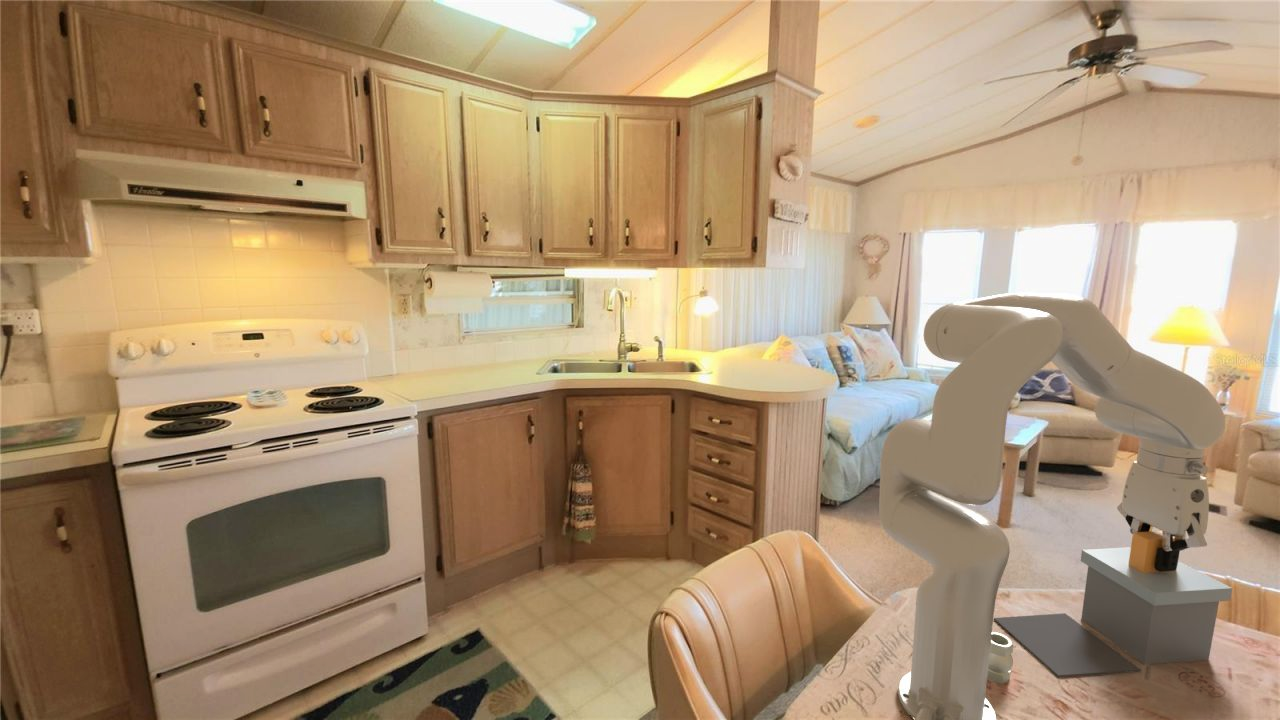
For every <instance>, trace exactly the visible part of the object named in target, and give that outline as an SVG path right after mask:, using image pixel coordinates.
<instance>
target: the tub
mask: <svg viewBox="0 0 1280 720" xmlns="http://www.w3.org/2000/svg"><path fill="white" fill-rule="evenodd" d="M1087 566H1088V565H1087ZM1082 602H1083V604H1082V612H1081V620H1082V621H1083V622H1085V623H1086V624H1087V625H1089V626H1090V627H1092V629H1095V631H1096V632H1098V633H1100V634H1101V635H1102V634H1103V636H1104V637H1105V638H1106V639H1108V640H1109V641H1111V642H1112V643H1113V644H1115V645H1117V646H1118V647H1119V648H1120V649H1122V650H1123V651H1124V652H1126V653H1127V654H1128V655H1130V656H1131V657H1132V658H1134V659H1136V660H1137V661H1138V662H1140V663H1141V664H1142V665H1143V666H1146V665H1158V664H1170V663H1185V662H1198V661H1199V662H1200V661H1209V660H1210V653H1211V650H1212V649H1211V648H1212V643H1213V637H1214V633H1215V631H1214V630H1215V627H1216V626H1215V625H1216V621H1217V616H1218V615H1217V614H1218V610H1219V603H1220V601H1217V602H1202V603H1186V604H1171V605H1156V606H1154V605H1152V604H1151V603H1149V602H1147V601H1146V600H1144V599H1143V598H1141V597H1139V596H1138V595H1136V594H1134V593H1133V592H1131V591H1129V590H1128V589H1126V588H1124V587H1123V586H1121V585H1119V584H1118V583H1116V582H1114V581H1113V580H1111V579H1109V578H1108V577H1106V576H1105V575H1103V574H1101V573H1100V572H1098V571H1096V570H1095V569H1093V568H1091V567H1090V566H1088V567H1087V573H1086V582H1085V589H1084V597H1083V601H1082Z"/></svg>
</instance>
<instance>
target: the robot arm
mask: <svg viewBox="0 0 1280 720" xmlns="http://www.w3.org/2000/svg"><path fill="white" fill-rule="evenodd" d="M923 340H924V343H925V345H926V347H927V349H928V351H929V352H930V353H931V354H932V355H934V356H935V357H936V358H938V359H940V360H944V361H946V362H947V361H948V362H952V363H953V362H954V363H959V365H957V366H956V367H955V368H954V369H953V370H951V371H950V373H949V374H948V375H947V376H946V377H945V378H944V379H943V380H942V382H941V383H940V384H939V386H938V388H937V390H936V392H935V395H934V399H933V405H932V413H931V414H932V415H931V420H927V419H923V418H921V419H920V418H908V419H904V420H901V421H900V422H898V423H897V424H896V425H894V426H893V427H892V428H891V430H889V432H888V434H887V436H886V438H885V440H884V442H883V445H882V449H881V456H880V469H879V471H880V472H879V475H880V476H879V501H878V504H879V505H878V508H879V510H878V512H879V513H878V514H879V519H880V524H881V527H882V529H883V531H884V533H886V534H887V536H888V537H890V538H891V539H892V540H894V541H895V542H896V543H898V544H899V545H900V546H902V547H904V548H906V549H907V550H908V551H910V552H912V553H914V554H915V555H916V556H918V557H920V558H921V559H923V561H926V562H927V563H928V564H930V566H931V567H932V573H931V574H929V576H927V577H925V578H924V579H923V580H922V581H921V582H920V583H919V585H918V587H917V591H916V598H915V599H916V600H915V611H914V612H915V615H914V626H913V627H914V629H913V638H912V639H913V642H912V654H911V655H912V657H911V667H910V668H911V670H910V671H909V672H908V673H906V674H903V676H902V677H901V678H900V680H899V682H898V691H897V692H898V699H899V702H900V704H901V705H902V708H903V709H904V711H905V712H906V713H907V715H908V716H909V715H911V716H912V717H914V718H915V720H997V716H996V712H995V709H994V708H993V706H992V704H991V703H990V702H989V701H988V698H986V694H987V693H986V692H987V685H988V684H987V683H988V679H987V676H988V666H989V656H990V646H991V636H992V632H993V624H994V623H993V622H994V617H995V616H994V614H995V606H996V600H997V596H998V595H997V594H998V591H999V587H1000V583H1001V581H1002V577H1003V576H1004V573H1005V569H1006V566H1007V565H1008V563H1009V562H1008V561H1009V558H1010V552H1011V548H1010V542H1009V539H1008V537H1007V535H1006V534H1005V532H1004V530H1003V529H1001V527H1000V526H999V525H998V524H997V523H995V522H994V521H993V520H992V519H990V518H989V517H986V516H985V515H984V514H981V513H980V512H978V511H976V510H974V509H971V508H969V507H967V506H985V505H986V504H988V503H990V502H992V501H993V500H994V499H995V497H996V496H997V494H998V492H999V490H1000V485H1001V480H1002V475H1003V474H1002V473H1003V463H1004V454H1005V453H1004V451H1005V439H1006V428H1007V427H1006V426H1007V419H1008V412H1009V409H1010V407H1011V404H1012V401H1013V400H1014V398H1015V397H1016V395H1017V394H1018V392H1019V391H1020V390H1021V389H1022V388H1023V386H1024V385H1026V383H1028V382H1029V380H1030V379H1031V378H1032V377H1034V375H1036V374H1037V373H1038V372H1039V371H1041V369H1043V368H1045V366H1047V364H1049V363H1050V362H1051V363H1052V364H1053V365H1054V366H1055V367H1056V368H1057V369H1058V370H1059V371H1060V372H1061V373H1062V374H1063V375H1064V376H1065V377H1066V378H1067V380H1068V381H1069V382H1070V383H1071V384H1072V385H1073V386H1075V387H1077V388H1078V389H1080V390H1082V391H1084V392H1087V393H1089V394H1092V395H1094V396H1096V397H1099V399H1098V400H1097V402H1096V405H1095V408H1094V412H1095V413H1094V414H1095V417H1096V419H1097V421H1098V422H1099V424H1101V426H1103V427H1105V428H1106V429H1108V430H1110V431H1113V432H1116V433H1118V434H1119V433H1120V434H1123V435H1127V436H1132V437H1135V438H1139V441H1138V448H1137V456H1136V460H1134V461H1133V462H1132V464H1131V467H1130V468H1129V472H1128V474H1127V476H1126V481H1125V484H1124V487H1123V493H1122V499H1121V503H1120V504H1118V505H1117V507H1116V509H1117V511H1118V512H1119V513H1120V515H1121V516H1122V517H1123V518H1124V519H1125V521H1126V522H1127V524H1128V526H1129V527H1130V528H1129V532H1130V533H1131V534H1132V535H1133V532H1150V531H1153V528H1155V529H1158V530H1159V531H1162V548H1158V549H1157V556H1156V562H1155V569H1156V570H1157V571H1159V572H1164V571H1175V570H1176V568H1177V564H1178V561H1179V559H1180V558H1179V556H1180V552H1181V551H1185V550H1186V549H1189V548H1204V547H1205V548H1206V547H1207V546H1208V544H1207V541H1206V538H1205V534H1206V533H1207V530H1208V529H1207V528H1208V524H1209V523H1208V522H1209V513H1210V512H1209V511H1210V496H1209V487H1208V480H1207V477H1205V476H1203V475H1206V474H1207V473H1208V472H1209V467H1208V466H1207V465H1204V464H1203V463H1204V455H1205V450H1206V449H1208V448H1210V447H1212V446H1214V445H1216V444H1217V443H1218V442H1219V441H1220V440H1221V439H1222V437H1223V435H1224V433H1225V429H1226V417H1225V414H1224V411H1223V409H1222V406H1221V405H1220V403H1219V402H1218V400H1217V398H1215V397H1214V395H1213V394H1212V393H1211V391H1210V390H1209V389H1208V388H1207V387H1206V386H1205V385H1204V384H1203V383H1201V382H1200V381H1199V380H1197V379H1196V378H1194V377H1193V376H1191V375H1188V374H1187V373H1185V372H1183V371H1181V370H1179V369H1177V368H1175V367H1172V366H1170V365H1168V364H1167V363H1164V362H1162V361H1160V360H1158V359H1157V358H1154V357H1152V356H1149V355H1147V354H1145V353H1142V352H1141V351H1138V350H1136V349H1134V348H1133V347H1132V345H1130V343H1129V342H1128V341H1127V340H1126V339H1125V338H1124V337H1123V335H1122V333H1120V332H1119V330H1117V328H1116V327H1115V326H1114V325H1113V323H1112V322H1111V321H1110V320H1109V319H1108V318H1107V317H1106V316H1105V314H1104V313H1103V312H1102V311H1101V309H1100V308H1099V307H1098V306H1097V305H1096V304H1095V303H1093V301H1091V300H1090V299H1088V298H1086V297H1083V296H1080V295H1076V294H1068V293H1043V292H1039V293H1038V292H1037V293H1036V292H1008V293H1002V294H996V295H991V296H986V297H985V296H984V297H979V298H974V299H968V300H963V301H956V302H952V303H949V304H948V303H947V304H945V305H943V306H941V307H939V308H938V309H936V310H935V311H934V312H933V313H932V314H931V315H930V316H929V317H928V319H927V320H926V323H925V325H924V327H923ZM965 505H967V506H965ZM1186 533H1187V536H1188V538H1186ZM1173 536H1175V541H1173ZM911 716H910V717H911ZM912 717H911V718H912Z"/></svg>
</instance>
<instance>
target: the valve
mask: <svg viewBox="0 0 1280 720" xmlns="http://www.w3.org/2000/svg"><path fill="white" fill-rule="evenodd" d="M1013 650H1014V643H1013V642H1012V640H1011V639H1010V638H1009V637H1008V636H1006V635H1005V634H1002V633H999V632H996V631H995V632H994V631H992V636H991V646H990V656H989V666H988V676H987V681H991V682H994V683H997V684H1000V685H1004V684H1005V683H1008V682H1009V681H1010V679H1011V670H1012V668H1013V664H1014V659H1013V655H1012V654H1013Z"/></svg>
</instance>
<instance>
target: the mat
mask: <svg viewBox="0 0 1280 720" xmlns="http://www.w3.org/2000/svg"><path fill="white" fill-rule="evenodd" d="M994 621H995V623H997V625H998V626H1000V627H1001V628H1002V629H1004V630H1005V632H1006V633H1008V634H1009V636H1011V637H1012V638H1013V639H1015V640H1016V641H1017V643H1019V644H1020V645H1021V646H1022V647H1023V648H1025V649H1026V650H1027V651H1028V652H1029V653H1030V654H1031V655H1032V654H1033V657H1034V658H1036V659H1037V660H1038V661H1039V660H1040V661H1041V662H1042V663H1041V662H1040V661H1039V662H1040V663H1041V664H1042V665H1044V666H1045V667H1046V668H1047V669H1048V670H1049V671H1050V672H1051V673H1052V674H1053V675H1055V676H1056V677H1058V678H1069V677H1083V676H1084V677H1085V676H1096V675H1097V676H1099V675H1110V674H1125V673H1127V674H1128V673H1136V672H1137V673H1139V672H1141V670H1142V669H1141V668H1140V667H1138V666H1137V665H1136V664H1135V663H1133V662H1132V661H1130V660H1129V659H1128V658H1126V657H1125V656H1123V655H1122V654H1120V653H1119V652H1118V650H1115V649H1114V648H1113V647H1112V646H1110V645H1109V644H1107V642H1105V641H1103V639H1101V638H1100V637H1098V636H1097V635H1095V634H1094V633H1092V632H1091V631H1090V630H1089V629H1087V628H1086V627H1084V626H1083V625H1082V624H1080V623H1079V622H1078V621H1076V620H1075V619H1073V618H1072V617H1071V616H1069V615H1068V614H1067V613H1050V614H1049V613H1048V614H1037V615H1036V614H1035V615H1020V616H1008V617H1007V616H1003V617H993V622H994Z"/></svg>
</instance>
